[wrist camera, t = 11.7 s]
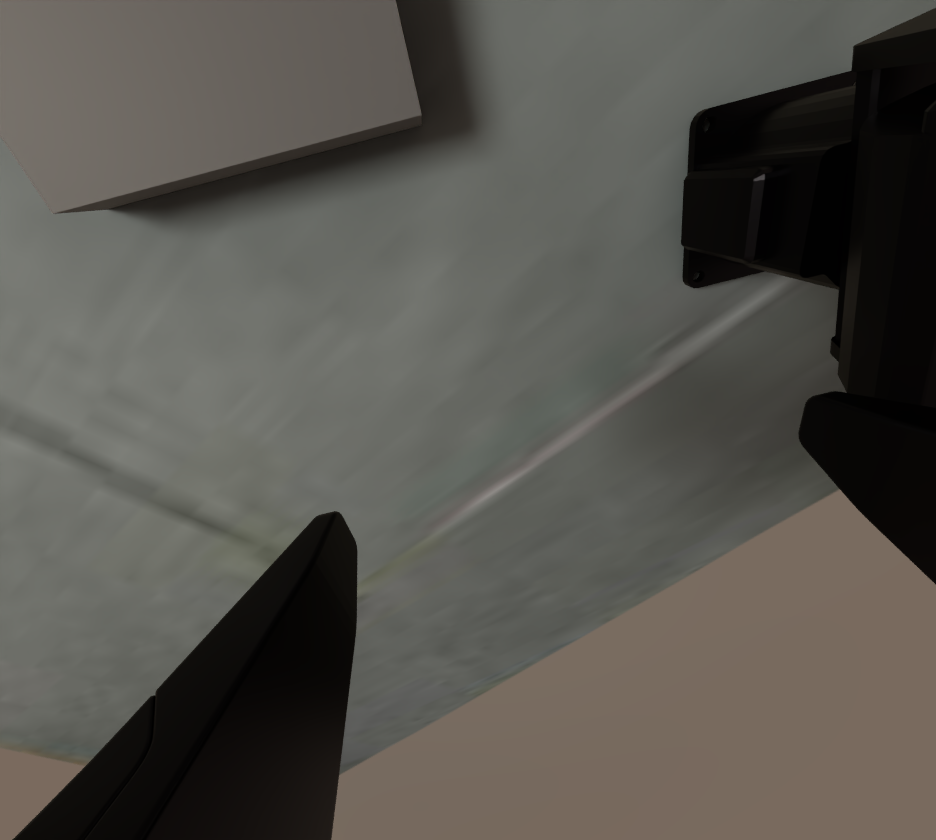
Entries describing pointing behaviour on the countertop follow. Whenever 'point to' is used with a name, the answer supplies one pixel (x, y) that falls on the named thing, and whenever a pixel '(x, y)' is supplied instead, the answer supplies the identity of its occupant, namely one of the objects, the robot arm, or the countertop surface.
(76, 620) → the countertop surface
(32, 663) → the countertop surface
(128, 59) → the gray u-shaped block
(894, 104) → the robot arm
